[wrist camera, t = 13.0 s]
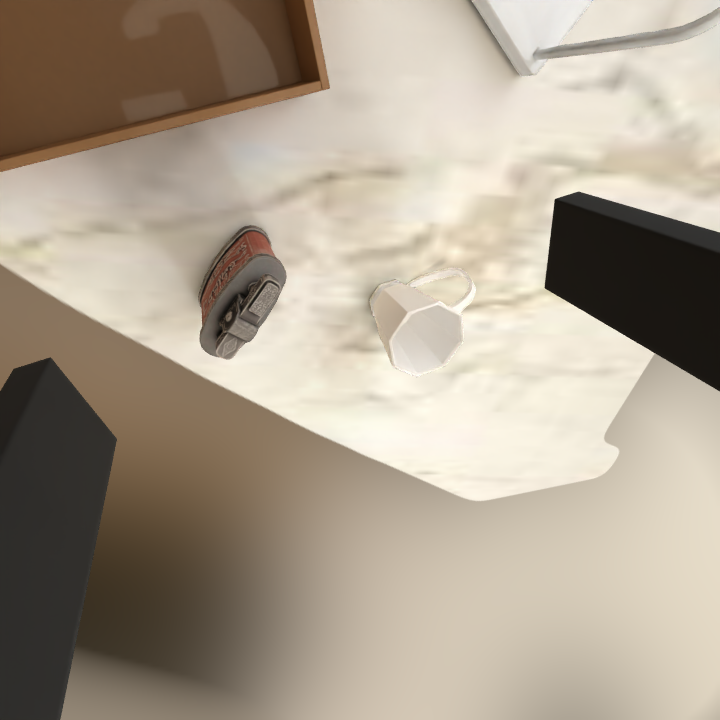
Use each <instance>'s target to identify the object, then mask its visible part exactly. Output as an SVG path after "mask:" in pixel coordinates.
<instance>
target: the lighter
mask: <svg viewBox="0 0 720 720" xmlns="http://www.w3.org/2000/svg"><path fill="white" fill-rule="evenodd" d="M285 281H286V271H285V269H284V267H283V265H282V263H281V262H280V261H279V260H278V259H277V258H276V257H275V255H274V253H273V251H272V249H271V242H270V240H269V238H268V236H267V234H266V233H265V232H264V231H263V230H262V229H260V228H258V227H256V226H245V227H243V228H242V229H240V230H239V231H238V232H237V233H236V234H235V235H234V236H233V237H232V238H231V239H230V240H229V241H228V242H227V243H226V245H225V246H224V247H223V249H222V250H221V251H220V253H219V254H218V255H217V256H216V258H215V259H214V261H213V263H212V265H211V267H210V268H209V270H208V272H207V274H206V276H205V278H204V281H203V284H202V286H201V289H200V292H199V304H200V307H201V308H202V329H201V331H200V344H201V347H202V348H203V349H204V350H205V352H207V353H208V354H210V355H212V356H216V357H221V358H223V359H231V358H233V357H234V356H235V354H236V353H237V351H238V350H239V349H240V348H241V347H242V346H243V345H244V344H245V343H247V342H250V341H251V340H252V339H253V338H254V336H255V335H256V333H257V331H258V329H259V327H260V326H261V325H262V324H263V322H264V321H265V320H266V318H267V316H268V315H269V313H270V312H271V310H272V308H273V307H274V305H275V303H276V302H277V299H278V297H279V295H280V293H281V291H282V288H283V286H284V284H285Z"/></svg>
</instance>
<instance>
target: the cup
mask: <svg viewBox="0 0 720 720" xmlns="http://www.w3.org/2000/svg"><path fill="white" fill-rule="evenodd" d="M450 276H459V277H464V278H465V279H466V280H467V281H468V282H469V285H468V291H467V293H466V294H465V295H464V296H463V297H462V298H460V299H458V300H457V301H455V302H453V303H452V304H450V305H448V306H447V305H445V304H444V303H442V302H440V301H438V300H436V299H435V298H433V297H431V296H429V295H427V294H425V293H423V292H421V291H419V290H417V289H415V288H416V287H419V286H421V285H423V284H425V283H428V282H431V281H434V280H438V279H441V278H445V277H450ZM475 290H476V288H475V286H474V284H473V282H472V280H471V278H470V276H469V274H468V273H466V272H465V271H464V270H463V269H460V268H455V267H452V268H446V269H441V270H438V271H435V272H432V273H429V274H426V275H423V276H420V277H418V278H416V279H414V280H412V281H410V282H409V283H408V284H406V285H405V284H403V283H401V282H399V281H397V280H392V281H389V282H386V283H383V284H380V285H379V286H378V287H377V289H376V290H375V292H374V293H373V295H372V297H371V298H370V300H369V301H370V306H371V311H372V315H373V317H375V320H376V324H377V328H378V332H379V336H380V338H381V340H382V342H383V345H384V347H385V349H386V352H387V354H388V357H389V359H390V361H391V364H392V366H393V368H395V369H398V370H400V371H403V372H405V373H407V374H410V375H412V376H415V377H419V376H421V375H424V374H427V373H429V372H432V371H435V370H437V369H440V368H443V367H445V366H446V364H447V363H448V362H449V360H450V359H451V358H452V356H453V355H454V354H455V352H456V351H457V350H458V348H459V347H460V346H461V345H462V343H463V342H464V337H463V314H461V313H459V312H460V311H462V310H463V309H464V308H465V307H467V306H468V305H469V304H470V303H471V301H472V300H473V299H474V297H475Z"/></svg>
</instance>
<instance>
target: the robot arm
mask: <svg viewBox="0 0 720 720" xmlns="http://www.w3.org/2000/svg"><path fill="white" fill-rule="evenodd" d="M545 289H547V290H549V291H550V292H552V293H554V294H555V295H557V296H559V297H561V298H562V299H564V300H566V301H567V302H569V303H571V304H572V305H574V306H576V307H578V308H579V309H581V310H583V311H584V312H586V313H588V314H589V315H591V316H593V317H594V318H596V319H598V320H600V321H601V322H603V323H605V324H606V325H608V326H610V327H611V328H613V329H615V330H617V331H618V332H620V333H622V334H623V335H625V336H627V337H628V338H630V339H632V340H634V341H635V342H637V343H639V344H640V345H642V346H644V347H645V348H647V349H649V350H650V351H652V352H654V353H656V354H657V355H659V356H661V357H662V358H664V359H666V360H668V361H669V362H671V363H673V364H674V365H676V366H678V367H679V368H681V369H683V370H684V371H686V372H688V373H690V374H691V375H693V376H695V377H696V378H698V379H700V380H701V381H703V382H705V383H706V384H708V385H710V386H712V387H713V388H715V389H717V390H718V391H720V233H719V232H716V231H712V230H709V229H705V228H702V227H699V226H695V225H692V224H688V223H685V222H681V221H678V220H674V219H671V218H668V217H664V216H661V215H657V214H654V213H650V212H647V211H643V210H640V209H637V208H633V207H630V206H626V205H623V204H619V203H616V202H612V201H609V200H606V199H602V198H599V197H595V196H592V195H588V194H585V193H581V192H576V193H573V194H570V195H566V196H563V197H560V198H557V199H555V203H554V211H553V220H552V228H551V237H550V246H549V254H548V263H547V271H546V280H545ZM116 441H117V439H116V437H115V436H114V435H113V434H112V432H111V431H110V430H109V429H108V427H107V426H106V425H105V424H104V423H103V421H102V420H101V419H100V418H99V416H98V415H97V414H96V413H95V411H94V410H93V409H92V408H91V407H90V405H89V404H88V403H87V402H86V400H85V399H84V398H83V397H82V395H81V394H80V393H79V392H78V391H77V389H76V388H75V387H74V386H73V384H72V383H71V382H70V381H69V379H68V378H67V377H66V376H65V374H64V373H63V372H62V371H61V370H60V368H59V367H58V366H57V365H56V363H55V362H54V361H53V360H52V359H51V358H47V359H44V360H41V361H38V362H34V363H31V364H28V365H25V366H21V367H18V368H15V369H13V371H12V373H11V374H10V376H9V378H8V379H7V381H6V383H5V384H4V386H3V388H2V390H1V391H0V720H60V718H61V713H62V708H63V703H64V698H65V693H66V689H67V683H68V678H69V673H70V669H71V664H72V659H73V653H74V648H75V643H76V639H77V634H78V629H79V624H80V619H81V614H82V609H83V604H84V599H85V594H86V590H87V584H88V580H89V575H90V569H91V565H92V560H93V555H94V550H95V545H96V540H97V535H98V530H99V525H100V520H101V515H102V510H103V505H104V500H105V495H106V491H107V486H108V480H109V475H110V471H111V466H112V461H113V456H114V451H115V446H116Z"/></svg>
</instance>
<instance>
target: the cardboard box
mask: <svg viewBox="0 0 720 720" xmlns="http://www.w3.org/2000/svg"><path fill="white" fill-rule="evenodd" d="M329 88H330V86H329V81H328V76H327V71H326V65H325V60H324V55H323V50H322V45H321V40H320V35H319V30H318V25H317V20H316V15H315V10H314V5H313V0H0V172H2V171H6V170H10V169H14V168H18V167H22V166H26V165H30V164H34V163H38V162H42V161H46V160H49V159H53V158H57V157H61V156H65V155H69V154H73V153H77V152H81V151H85V150H89V149H93V148H97V147H101V146H105V145H109V144H113V143H117V142H121V141H124V140H128V139H132V138H136V137H140V136H144V135H148V134H152V133H156V132H160V131H164V130H168V129H172V128H176V127H180V126H184V125H188V124H192V123H196V122H199V121H203V120H207V119H211V118H215V117H219V116H223V115H227V114H231V113H235V112H239V111H243V110H247V109H251V108H255V107H259V106H263V105H267V104H271V103H274V102H278V101H282V100H286V99H290V98H294V97H298V96H302V95H306V94H310V93H314V92H318V91H321V90H326V89H329Z"/></svg>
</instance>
